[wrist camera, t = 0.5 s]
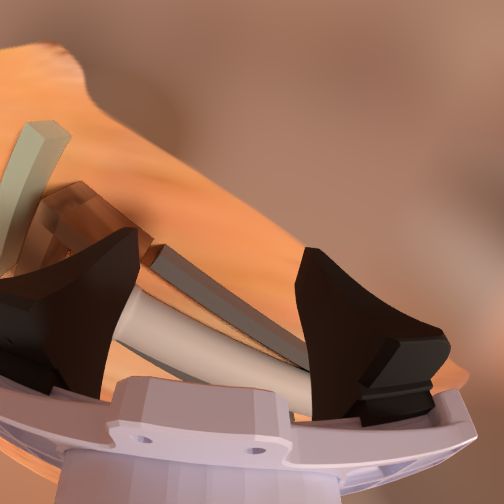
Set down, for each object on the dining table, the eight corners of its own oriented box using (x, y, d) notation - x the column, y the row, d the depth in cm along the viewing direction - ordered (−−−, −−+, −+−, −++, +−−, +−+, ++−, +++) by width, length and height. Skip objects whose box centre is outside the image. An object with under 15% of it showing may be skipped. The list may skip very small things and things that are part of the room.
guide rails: (284, 413, 33) (286, 425, 31) (109, 319, 25) (103, 332, 24) (347, 369, 30) (352, 382, 29) (165, 243, 23) (160, 254, 21)
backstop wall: (16, 263, 22) (-5, 281, 18) (1, 248, 21) (-20, 265, 18) (72, 135, 18) (45, 139, 15) (54, 120, 17) (26, 122, 14)
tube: (355, 395, 27) (130, 292, 20) (326, 430, 27) (103, 347, 20) (332, 373, 32) (138, 276, 25) (308, 405, 32) (115, 322, 25)
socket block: (102, 312, 25) (80, 353, 20) (41, 264, 22) (8, 296, 17) (154, 238, 22) (132, 274, 17) (81, 180, 20) (41, 199, 14)
